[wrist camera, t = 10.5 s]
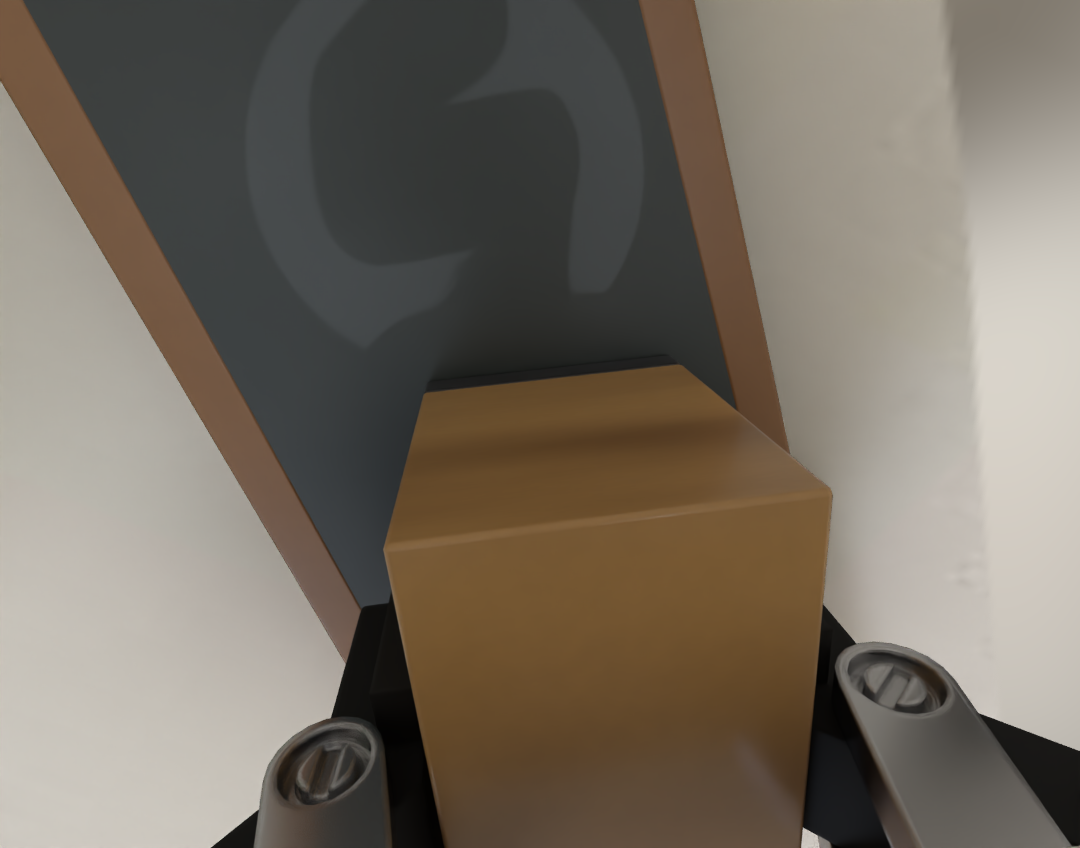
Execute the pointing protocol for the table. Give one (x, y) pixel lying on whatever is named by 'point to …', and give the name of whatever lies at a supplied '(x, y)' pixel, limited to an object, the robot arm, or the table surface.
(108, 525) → the table surface
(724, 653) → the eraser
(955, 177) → the table surface
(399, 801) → the robot arm
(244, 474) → the chalkboard
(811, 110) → the table surface
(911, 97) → the table surface
